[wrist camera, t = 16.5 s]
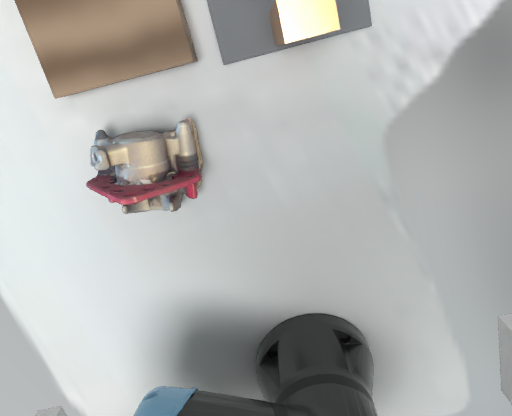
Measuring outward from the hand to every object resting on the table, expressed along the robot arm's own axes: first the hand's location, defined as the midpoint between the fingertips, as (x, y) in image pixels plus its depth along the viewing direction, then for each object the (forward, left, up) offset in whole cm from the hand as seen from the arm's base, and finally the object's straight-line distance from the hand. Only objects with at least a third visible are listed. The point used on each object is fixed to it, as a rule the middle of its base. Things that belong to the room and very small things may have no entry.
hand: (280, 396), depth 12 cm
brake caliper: (+1, +12, -35) cm, 37 cm away
